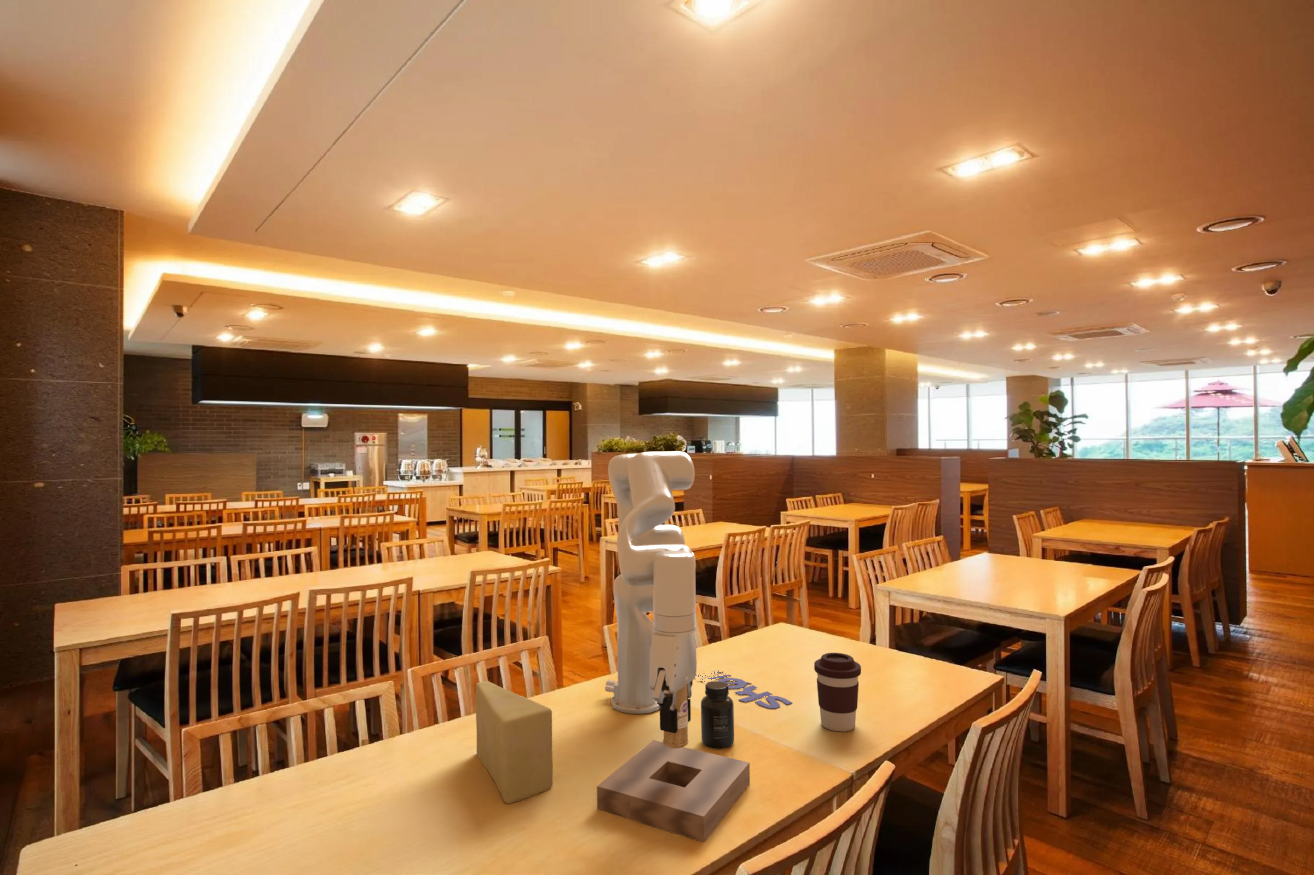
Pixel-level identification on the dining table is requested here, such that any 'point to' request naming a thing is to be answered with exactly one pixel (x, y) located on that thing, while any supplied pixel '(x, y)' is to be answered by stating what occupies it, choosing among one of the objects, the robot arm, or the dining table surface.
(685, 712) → the sprinkles bottle
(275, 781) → the dining table surface
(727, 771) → the walnut holder
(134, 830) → the dining table surface
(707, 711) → the supplement bottle
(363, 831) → the dining table surface
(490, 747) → the cheese
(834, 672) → the coffee cup
